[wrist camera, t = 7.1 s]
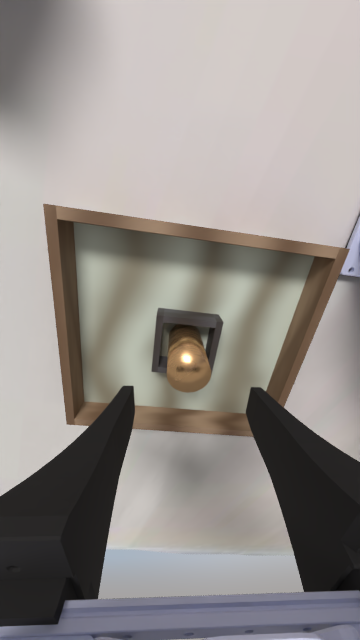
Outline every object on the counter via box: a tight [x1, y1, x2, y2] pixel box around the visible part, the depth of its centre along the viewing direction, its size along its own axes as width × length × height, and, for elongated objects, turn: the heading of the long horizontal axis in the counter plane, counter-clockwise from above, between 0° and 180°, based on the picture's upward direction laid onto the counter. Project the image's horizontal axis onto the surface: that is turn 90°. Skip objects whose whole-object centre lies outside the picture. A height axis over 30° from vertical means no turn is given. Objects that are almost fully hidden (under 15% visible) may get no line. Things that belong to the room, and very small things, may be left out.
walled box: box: [43, 204, 350, 437], centre depth 19 cm, size 22×20×3 cm
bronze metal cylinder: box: [167, 324, 211, 393], centre depth 17 cm, size 3×3×6 cm
